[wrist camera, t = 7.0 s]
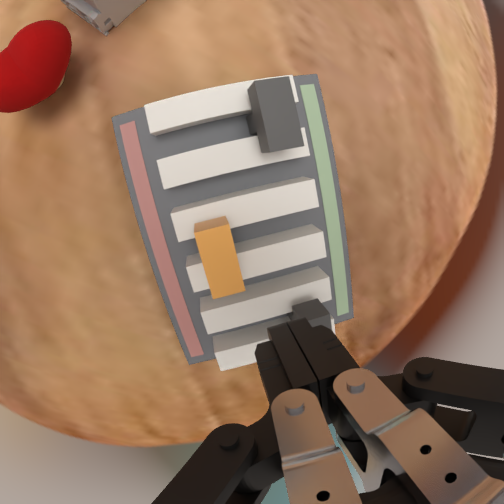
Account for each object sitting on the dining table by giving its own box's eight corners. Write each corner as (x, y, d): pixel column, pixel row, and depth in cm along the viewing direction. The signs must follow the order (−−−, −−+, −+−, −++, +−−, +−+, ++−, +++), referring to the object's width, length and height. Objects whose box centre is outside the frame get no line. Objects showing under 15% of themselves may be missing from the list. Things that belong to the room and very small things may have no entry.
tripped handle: (209, 266, 29) (213, 299, 22) (195, 214, 27) (194, 233, 20) (234, 259, 29) (245, 290, 22) (221, 207, 27) (229, 223, 21)
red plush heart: (74, 31, 22) (35, -5, 12) (107, 69, 24) (71, 37, 15) (14, 93, 22) (-39, 80, 13) (43, 134, 25) (-11, 130, 15)
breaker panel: (189, 349, 35) (189, 411, 25) (119, 120, 26) (83, 105, 16) (342, 306, 36) (385, 352, 27) (306, 80, 28) (352, 52, 18)
